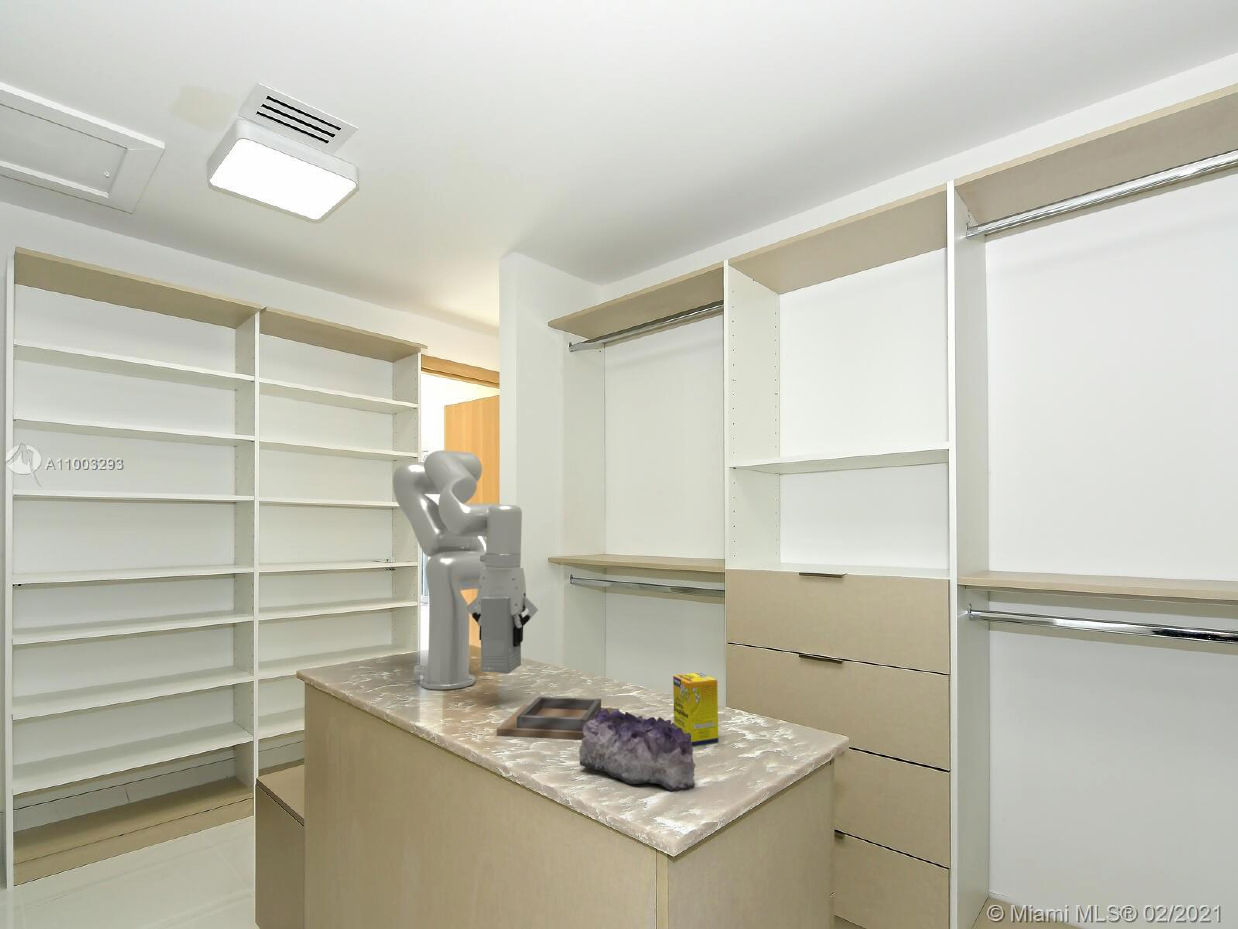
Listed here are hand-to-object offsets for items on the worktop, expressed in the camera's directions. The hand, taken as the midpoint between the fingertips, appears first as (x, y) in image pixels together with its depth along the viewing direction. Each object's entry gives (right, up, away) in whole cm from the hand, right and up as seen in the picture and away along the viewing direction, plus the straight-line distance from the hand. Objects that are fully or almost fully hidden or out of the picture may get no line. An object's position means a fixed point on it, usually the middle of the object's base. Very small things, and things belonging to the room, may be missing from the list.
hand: (500, 644), depth 142 cm
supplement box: (+39, -10, -25) cm, 48 cm away
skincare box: (0, -5, 0) cm, 5 cm away
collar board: (+14, -11, -16) cm, 24 cm away
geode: (+29, -9, -40) cm, 50 cm away
